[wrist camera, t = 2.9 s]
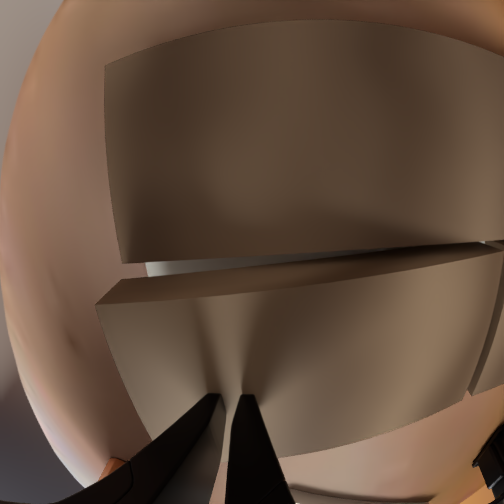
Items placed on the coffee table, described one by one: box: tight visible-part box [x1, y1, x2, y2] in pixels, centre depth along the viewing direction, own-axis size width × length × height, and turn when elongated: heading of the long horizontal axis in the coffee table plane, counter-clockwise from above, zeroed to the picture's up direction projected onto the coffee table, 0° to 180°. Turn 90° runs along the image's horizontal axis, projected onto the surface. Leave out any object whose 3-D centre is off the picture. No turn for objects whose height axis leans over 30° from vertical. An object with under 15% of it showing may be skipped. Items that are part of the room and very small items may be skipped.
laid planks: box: [104, 20, 504, 396], centre depth 8 cm, size 19×14×2 cm
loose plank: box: [95, 242, 504, 462], centre depth 8 cm, size 13×7×2 cm, turn 96°
